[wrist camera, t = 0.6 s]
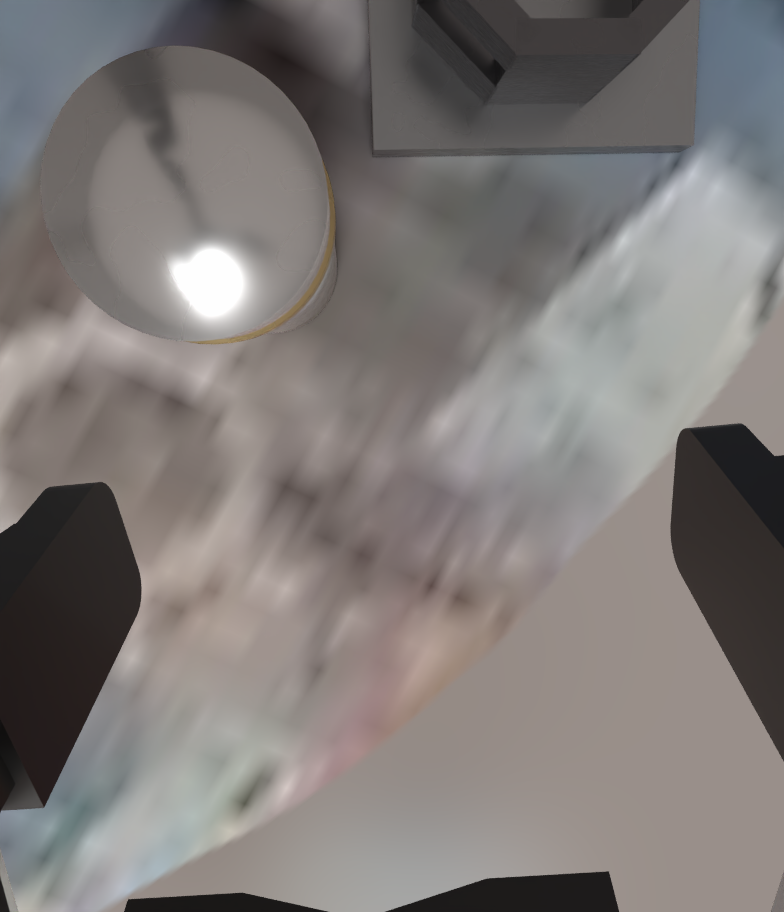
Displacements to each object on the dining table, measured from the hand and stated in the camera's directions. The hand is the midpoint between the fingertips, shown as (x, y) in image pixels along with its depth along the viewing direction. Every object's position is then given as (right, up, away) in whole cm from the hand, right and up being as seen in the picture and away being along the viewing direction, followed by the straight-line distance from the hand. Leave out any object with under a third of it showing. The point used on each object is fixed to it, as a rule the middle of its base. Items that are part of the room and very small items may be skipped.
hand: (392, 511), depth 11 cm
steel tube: (-5, +8, +18) cm, 21 cm away
